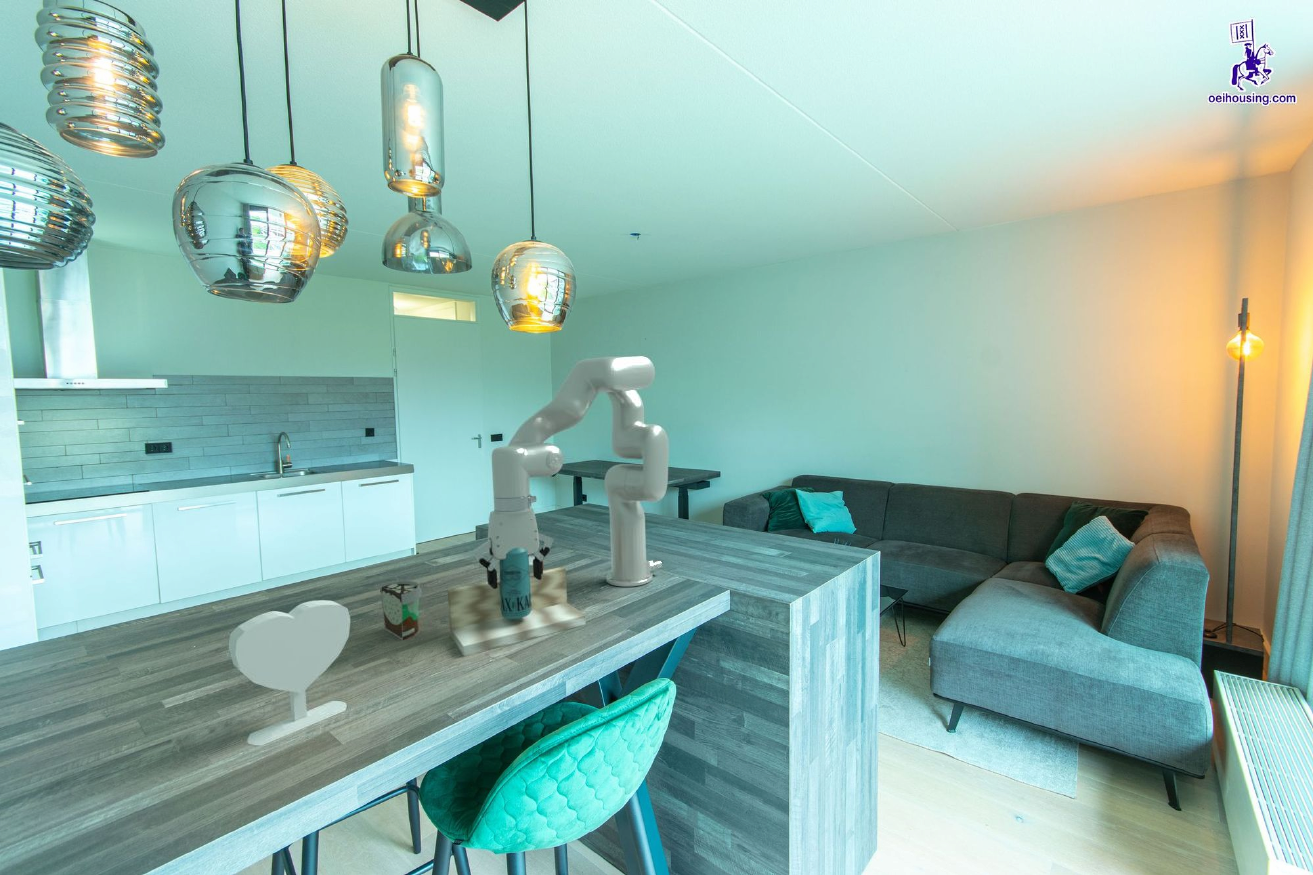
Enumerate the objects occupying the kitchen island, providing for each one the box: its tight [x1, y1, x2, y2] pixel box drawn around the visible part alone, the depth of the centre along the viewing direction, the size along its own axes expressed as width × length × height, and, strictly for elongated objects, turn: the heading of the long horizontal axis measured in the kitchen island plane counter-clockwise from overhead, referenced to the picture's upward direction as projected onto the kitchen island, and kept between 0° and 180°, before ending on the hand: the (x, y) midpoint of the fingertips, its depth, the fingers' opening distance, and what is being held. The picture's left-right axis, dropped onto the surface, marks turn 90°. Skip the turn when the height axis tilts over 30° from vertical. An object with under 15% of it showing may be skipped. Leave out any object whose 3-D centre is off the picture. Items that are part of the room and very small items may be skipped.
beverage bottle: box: [498, 548, 532, 619], centre depth 120 cm, size 6×7×20 cm
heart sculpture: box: [228, 599, 351, 747], centre depth 87 cm, size 16×5×18 cm, turn 140°
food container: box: [379, 580, 423, 641], centre depth 123 cm, size 12×6×10 cm, turn 47°
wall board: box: [447, 566, 587, 657], centre depth 121 cm, size 26×12×10 cm, turn 122°
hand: (516, 582), depth 121 cm, fingers open, 9 cm apart
